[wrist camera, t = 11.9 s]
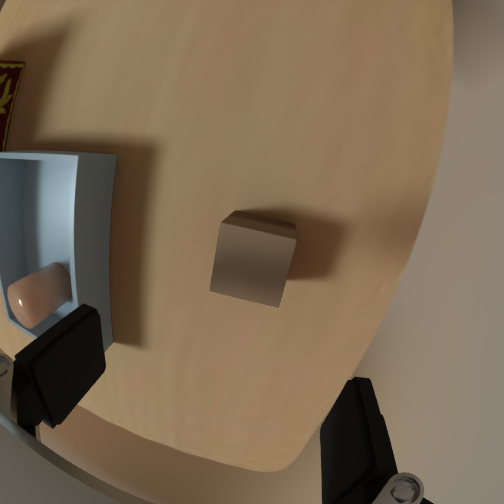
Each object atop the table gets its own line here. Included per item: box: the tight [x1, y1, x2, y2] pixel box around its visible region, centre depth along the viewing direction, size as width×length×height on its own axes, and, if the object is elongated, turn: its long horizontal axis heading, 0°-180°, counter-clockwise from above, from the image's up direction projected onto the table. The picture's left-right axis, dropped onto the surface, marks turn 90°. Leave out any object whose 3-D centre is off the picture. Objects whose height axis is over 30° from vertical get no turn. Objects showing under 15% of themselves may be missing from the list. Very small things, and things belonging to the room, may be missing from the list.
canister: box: [7, 262, 73, 329], centre depth 24 cm, size 5×5×7 cm
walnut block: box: [210, 211, 297, 308], centre depth 21 cm, size 5×5×5 cm
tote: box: [0, 150, 117, 352], centre depth 23 cm, size 21×15×6 cm
